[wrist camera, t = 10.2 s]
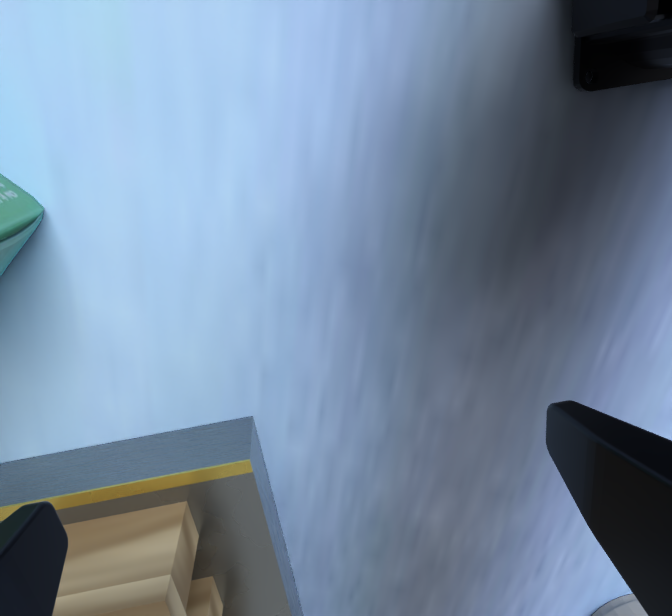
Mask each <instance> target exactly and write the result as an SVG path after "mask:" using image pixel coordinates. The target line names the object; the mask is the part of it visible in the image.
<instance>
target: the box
mask: <svg viewBox="0 0 672 616" xmlns="http://www.w3.org/2000/svg"><path fill="white" fill-rule="evenodd" d="M43 212H44V207H43V206H42V205H41V204H40V203H39V202H38V201H37V200H36V199H35V198H34V197H33V196H31V195H30V194H28V193H27V192H26V191H24V190H23V189H21V188H20V187H19V186H17V185H16V184H14V183H13V182H11V181H10V180H9V179H7V178H6V177H4V176H3V175H2V174H0V276H1V275H2V274H3V272H4V271H5V269H6V268H7V267H8V265H9V264H10V263H11V261H12V260H13V258H14V257H15V256H16V254H17V253H18V252H19V250H20V249H21V248H22V247H23V245H24V244H25V243H26V241H27V240H28V239H29V237H30V236H31V235H32V234H33V232H34V231H35V230H36V228H37V226H38V225H39V223H40V221H41V220H42V217H43Z"/></svg>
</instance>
